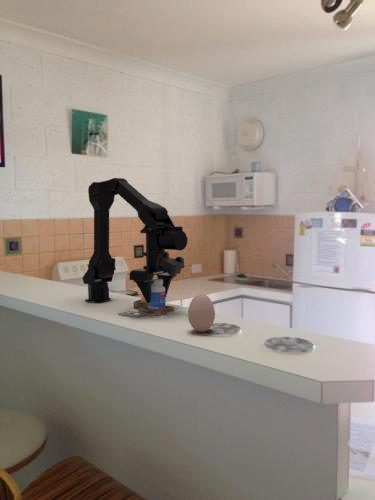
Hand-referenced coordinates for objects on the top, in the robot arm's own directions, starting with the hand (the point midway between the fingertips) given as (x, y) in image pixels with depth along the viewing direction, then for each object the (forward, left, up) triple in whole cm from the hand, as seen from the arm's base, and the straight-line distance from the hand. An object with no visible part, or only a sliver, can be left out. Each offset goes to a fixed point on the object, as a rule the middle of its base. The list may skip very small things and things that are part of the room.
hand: (156, 300), depth 139 cm
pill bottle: (0, 0, -4) cm, 4 cm away
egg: (+23, -13, -4) cm, 27 cm away
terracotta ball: (-6, +3, -4) cm, 8 cm away
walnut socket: (0, 0, -4) cm, 4 cm away
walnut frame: (-6, +3, -4) cm, 8 cm away
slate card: (-4, -7, -4) cm, 8 cm away
